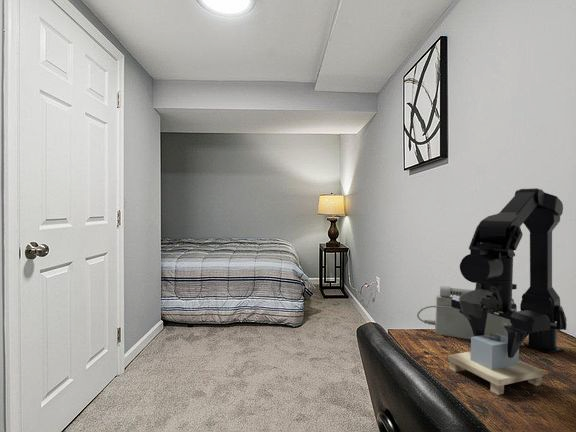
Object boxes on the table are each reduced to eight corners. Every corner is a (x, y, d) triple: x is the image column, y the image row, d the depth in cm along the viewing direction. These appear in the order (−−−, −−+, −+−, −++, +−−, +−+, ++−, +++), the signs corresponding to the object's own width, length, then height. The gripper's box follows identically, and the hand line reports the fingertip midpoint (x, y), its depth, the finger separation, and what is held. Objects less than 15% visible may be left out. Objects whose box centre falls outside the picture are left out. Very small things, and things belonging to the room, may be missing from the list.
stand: (489, 360, 81) (489, 348, 81) (543, 384, 70) (543, 370, 70) (448, 368, 76) (448, 355, 76) (498, 395, 65) (498, 380, 65)
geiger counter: (515, 291, 94) (418, 281, 105) (519, 296, 88) (417, 285, 99) (513, 341, 94) (417, 327, 105) (518, 349, 88) (415, 333, 99)
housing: (491, 370, 69) (492, 341, 69) (470, 360, 74) (471, 333, 74) (518, 364, 72) (519, 337, 72) (496, 355, 77) (497, 329, 77)
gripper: (434, 272, 79) (432, 339, 79) (513, 289, 61) (510, 376, 61) (469, 270, 83) (467, 334, 83) (553, 286, 65) (550, 367, 65)
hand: (494, 350), depth 73 cm, fingers open, 7 cm apart
